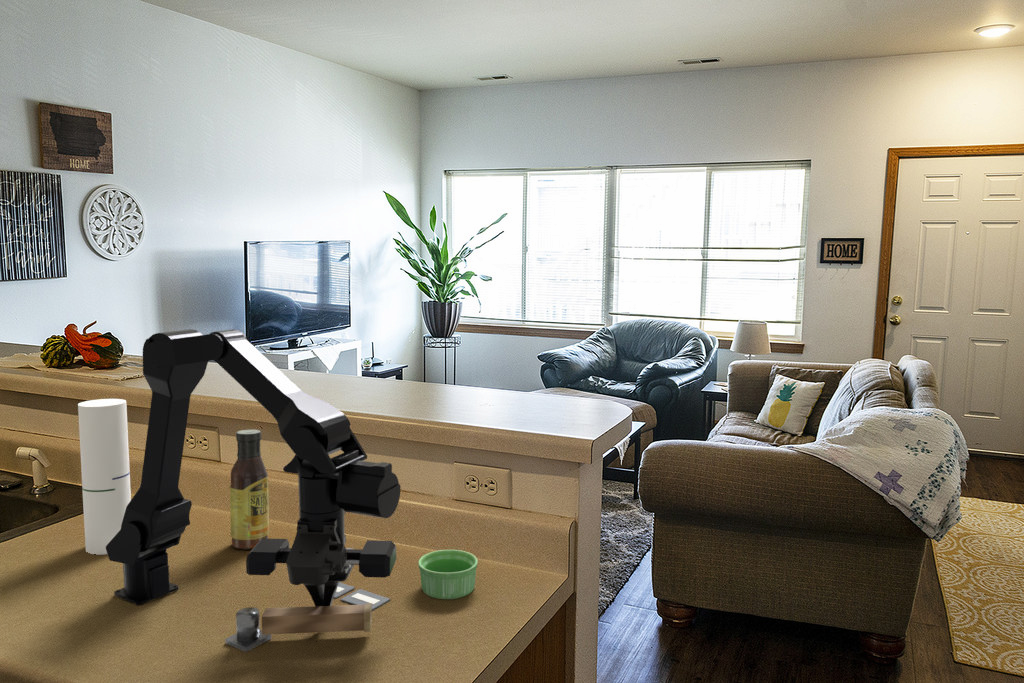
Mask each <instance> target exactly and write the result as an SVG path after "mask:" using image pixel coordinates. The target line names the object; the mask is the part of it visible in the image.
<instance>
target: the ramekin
mask: <svg viewBox="0 0 1024 683" xmlns="http://www.w3.org/2000/svg"><path fill="white" fill-rule="evenodd" d="M478 562H479V561H478V558H477V556H475V554H473V553H471V552H468V551H464V550H459V549H440V550H434V551H431V552H429V553H425V554H424V555H422V556H421V557H420V558H419V560H418V562H417V566H418V569H419V572H420V584H421V589H422V592H423V593H424V594H426V595H427V596H429V597H431V598H433V599H438V600H455V599H460V598H463V597H465V596H468V595H469V594H471V593H472V592H473V591H474V589H475V587H476V575H477V574H476V573H477V567H478Z"/></svg>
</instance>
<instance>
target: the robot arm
mask: <svg viewBox="0 0 1024 683" xmlns="http://www.w3.org/2000/svg"><path fill="white" fill-rule="evenodd" d="M211 361H213V362H214V363H217V365H219V366H220V367H221V368H222V369H223V370H224V371H225V372H226V373H227V374H228V375H229V376H230V377H231V378H232V379H233V380H235V381H236V382H237V383H238V384H239V385H240V386H241V387H242V388H243V389H244V390H245V391H246V392H247V393H248V394H250V396H251V397H253V399H254V400H256V401H257V403H259V404H260V405H261V406H262V407H263V408H264V409H265V410H266V411H267V412H268V413H269V414H271V416H272V417H273V418H274V420H276V423H277V425H278V426H277V427H278V430H279V433H280V436H281V438H282V439H283V440H284V441H285V443H286V444H287V445H288V447H289V448H290V449H291V451H292V452H293V453H294V456H293V458H292V459H291V460H290V462H288V463H287V464H286V465H285V466H283V468H282V469H283V472H284V473H289V474H296V475H297V477H298V480H297V481H298V510H299V514H298V515H299V516H298V517H299V518H298V520H297V521H296V522H297V526H296V533H295V537H294V540H293V543H292V544H291V548H290V541H289V540H288V539H287V538H268V539H267V538H262V539H261V540H260V541H259V542H258V543H257V545H256V546H255V547H254V548H253V549H250V552H249V553H248V554H247V556H246V560H245V566H246V568H245V569H246V570H245V572H246V574H248V575H249V576H270V575H271V574H273V572H274V571H275V570H276V569H277V564H286V569H287V574H288V581H289V583H290V584H291V585H295V586H299V585H304V586H305V588H306V590H307V591H308V593H309V595H310V597H311V600H312V602H313V605H314V606H333V602H334V599H335V598H334V596H335V593H336V590H337V587H338V584H339V582H340V583H343V582H346V581H347V580H348V578H349V576H350V574H351V572H352V570H353V568H354V566H355V565H357V566H358V572H359V573H360V574H361V575H362V576H363V577H364V578H388V577H390V576H391V574H392V571H393V568H394V566H395V563H396V561H397V546H396V544H395V543H394V542H393V540H374V539H373V540H372V539H371V540H370V539H369V540H366V542H365V544H364V546H363V548H362V549H357V548H355V549H354V548H353V547H346V543H347V537H346V536H347V534H345V515H346V512H347V513H350V514H356V515H364V516H370V517H376V518H382V519H389V518H390V517H392V516H393V514H394V513H395V512H396V510H397V507H398V505H399V502H400V497H401V484H400V482H399V478H398V476H397V475H396V473H395V472H393V464H392V463H390V462H384V461H383V462H381V461H380V462H373V461H366V460H367V459H368V455H367V453H366V452H365V449H364V448H363V447H362V445H361V444H360V442H359V440H358V439H357V436H355V434H354V432H353V430H352V429H351V427H350V426H351V421H350V419H349V418H348V417H347V416H346V414H345V413H343V412H342V411H341V410H339V409H338V408H337V407H335V406H333V405H332V404H331V403H328V402H327V401H325V400H323V399H321V398H317V397H315V396H312V395H309V394H307V393H306V392H304V391H303V390H301V388H299V387H298V386H297V384H295V383H294V382H292V380H290V378H288V377H287V376H286V375H285V374H284V373H283V372H282V370H280V369H278V368H279V367H277V366H275V365H274V364H273V362H271V361H270V360H269V359H268V358H267V357H266V356H265V355H264V354H263V353H261V352H260V351H259V350H258V349H257V348H256V347H255V346H254V345H253V344H252V343H251V342H250V341H249V340H248V338H247V336H246V335H245V333H244V332H242V331H240V330H238V329H233V328H232V329H227V330H226V329H225V330H217V331H211V332H210V333H208V334H202V332H200V331H198V330H196V329H191V328H190V329H183V330H181V329H180V330H172V331H163V332H157V333H153V334H152V335H151V336H149V337H148V338H146V339H145V341H144V342H143V347H142V374H143V377H144V379H145V380H146V382H147V384H148V386H149V388H150V390H151V401H150V408H149V416H148V424H147V431H146V432H147V433H146V439H145V446H144V448H145V449H144V455H143V463H142V469H141V470H142V472H141V479H140V480H141V481H140V485H139V488H138V490H137V491H136V492H135V494H134V495H133V497H131V501H130V502H129V504H128V505H127V507H126V510H125V514H124V517H123V521H122V525H121V530H120V531H119V532H118V533H117V534H116V535H115V536H114V538H113V539H112V540H111V541H110V542H109V543H108V544H107V546H106V551H107V554H106V555H107V556H108V560H109V561H110V562H115V563H121V564H122V569H123V570H122V571H123V586H124V587H121V588H120V589H116V590H115V591H114V592H113V594H114V595H113V596H116V597H118V598H120V599H122V600H125V601H127V602H129V603H131V604H133V605H136V606H140V605H144V604H146V603H149V602H152V601H154V600H156V599H158V598H159V599H160V598H161V597H164V596H166V595H169V594H171V593H173V592H176V591H179V589H180V588H179V585H177V584H175V583H173V582H171V581H170V566H169V555H168V554H169V553H168V552H167V550H168V549H170V548H173V547H176V546H178V545H179V544H180V541H181V538H182V535H183V534H184V532H185V531H186V527H188V526H190V525H191V522H190V513H191V508H192V506H193V503H192V500H191V499H187V498H185V497H184V496H183V494H182V492H181V490H180V488H179V483H180V476H181V468H182V460H183V453H184V445H185V439H186V431H187V423H188V416H189V410H190V409H189V408H190V401H191V396H192V393H193V392H194V391H195V389H196V388H197V386H198V385H199V383H200V382H201V381H202V379H203V378H204V376H205V372H206V370H207V366H208V363H209V362H211ZM339 451H342V452H343V453H340V454H337V455H335V456H333V457H331V456H330V455H332V454H334V453H336V452H339Z"/></svg>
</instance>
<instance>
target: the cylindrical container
mask: <svg viewBox="0 0 1024 683" xmlns="http://www.w3.org/2000/svg"><path fill="white" fill-rule="evenodd" d="M127 406H128V405H127V400H126V399H121V398H101V399H100V398H98V399H90V400H86V401H81V402H79V403H78V404H77V411H78V412H77V414H78V429H79V430H78V432H79V448H80V450H79V451H80V452H79V453H80V466H81V470H80V471H81V486H82V488H81V490H82V504H83V524H84V541H85V542H84V543H85V544H84V545H85V552H86V553H87V552H88V554H89V553H90V555H94V554H96V555H99V556H100V555H108V554H107V551H106V546H107V544H108V543H109V542H110V541H111V540H112V539H113V538H114V536H115V535H116V534H117V533H118V532H119V531H120V530H121V525H122V521H123V517H124V514H125V510H126V507H127V505H128V504H129V502H130V501H131V499H132V497H131V496H132V495H131V494H132V493H131V490H132V489H131V473H130V451H129V432H128V430H129V429H128V428H129V427H128V407H127Z"/></svg>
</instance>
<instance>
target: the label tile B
mask: <svg viewBox="0 0 1024 683" xmlns="http://www.w3.org/2000/svg"><path fill="white" fill-rule="evenodd" d="M340 601H342V602H344V603H347V604H349V605H365V604H366V603H372V611H374V610H376V609H378V608H379V607H381V606H382V605H384V604H386V603H388V602H390V601H391V598H388V597H386V596H383V595H379V594H376V593H374V592H370V591H368V590H364V589H362V588H359V589H357V590H355V591H353V592H351V593H350V594H349V593H348V594H347V595H345V596H343V597H340Z"/></svg>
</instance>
